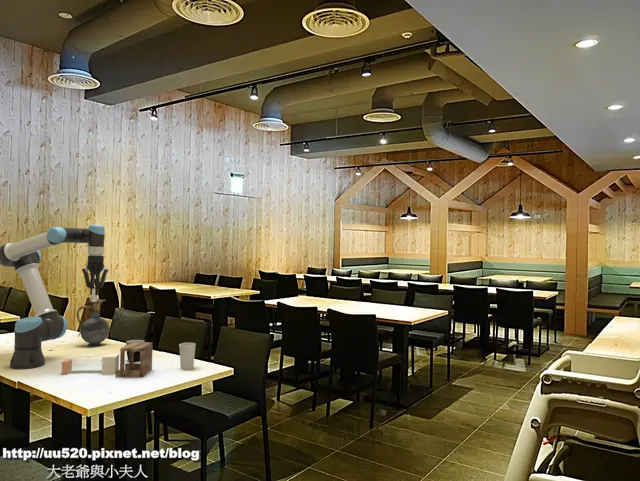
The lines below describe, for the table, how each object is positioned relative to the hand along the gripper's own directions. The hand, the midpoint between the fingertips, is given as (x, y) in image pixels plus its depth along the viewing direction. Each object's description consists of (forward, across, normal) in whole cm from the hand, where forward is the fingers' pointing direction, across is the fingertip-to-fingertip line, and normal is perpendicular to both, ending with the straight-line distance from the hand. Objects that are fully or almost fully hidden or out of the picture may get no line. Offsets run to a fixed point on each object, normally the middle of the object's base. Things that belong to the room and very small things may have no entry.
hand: (94, 301), depth 256 cm
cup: (+32, +49, -6) cm, 59 cm away
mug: (+32, +20, +10) cm, 39 cm away
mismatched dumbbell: (+32, +6, -17) cm, 36 cm away
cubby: (+31, +26, -17) cm, 44 cm away
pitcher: (+32, -19, +46) cm, 60 cm away
